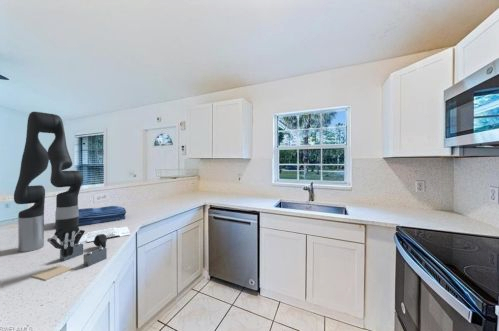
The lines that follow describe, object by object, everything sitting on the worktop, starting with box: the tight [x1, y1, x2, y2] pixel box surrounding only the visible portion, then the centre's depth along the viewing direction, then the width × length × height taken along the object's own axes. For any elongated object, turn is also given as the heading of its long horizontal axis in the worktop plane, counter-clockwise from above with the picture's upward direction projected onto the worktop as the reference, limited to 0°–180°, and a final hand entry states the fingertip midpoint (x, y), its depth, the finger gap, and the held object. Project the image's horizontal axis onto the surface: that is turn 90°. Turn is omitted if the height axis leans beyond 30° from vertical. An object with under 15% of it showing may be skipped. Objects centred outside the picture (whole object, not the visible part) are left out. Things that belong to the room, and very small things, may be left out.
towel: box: [54, 205, 127, 230], centre depth 159 cm, size 24×43×10 cm, turn 130°
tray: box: [78, 225, 131, 244], centre depth 127 cm, size 20×28×4 cm
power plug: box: [93, 234, 108, 248], centre depth 107 cm, size 6×8×12 cm
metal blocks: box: [59, 242, 108, 267], centre depth 95 cm, size 19×8×6 cm, turn 72°
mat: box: [31, 264, 74, 281], centre depth 83 cm, size 9×9×1 cm
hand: (67, 255), depth 88 cm, fingers closed
